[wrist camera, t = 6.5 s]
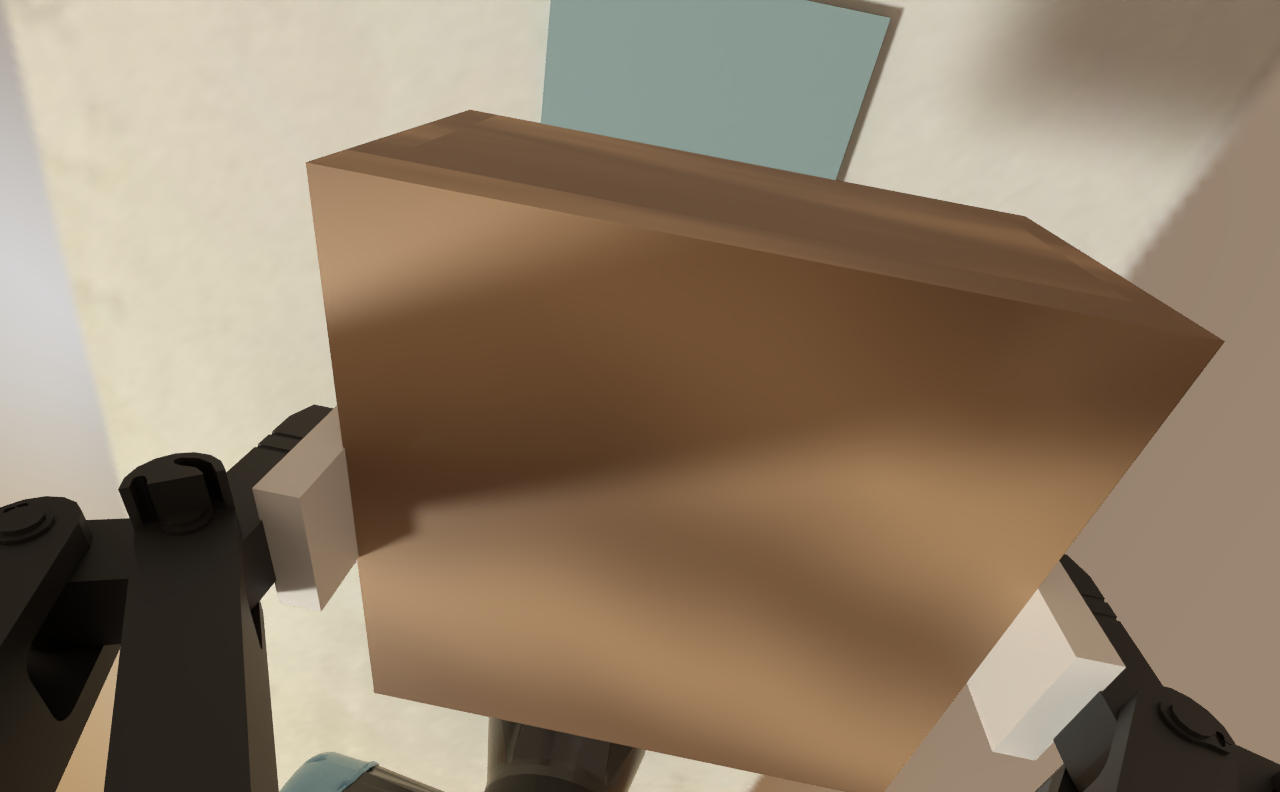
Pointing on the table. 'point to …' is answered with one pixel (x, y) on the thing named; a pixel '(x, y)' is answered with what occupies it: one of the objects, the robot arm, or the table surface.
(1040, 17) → the table surface
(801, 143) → the mat
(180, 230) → the table surface
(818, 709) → the brown wooden block
